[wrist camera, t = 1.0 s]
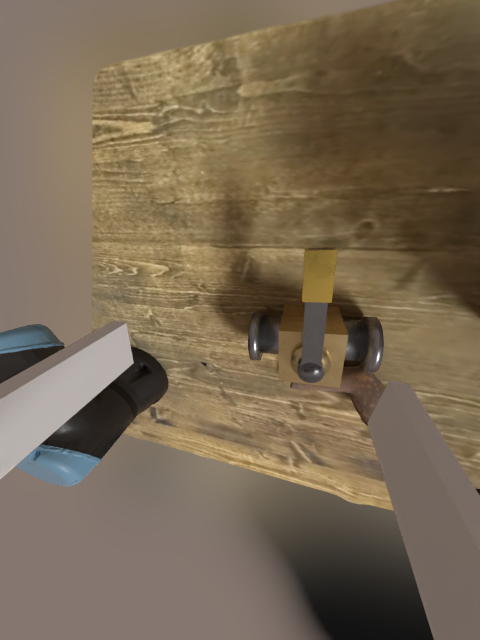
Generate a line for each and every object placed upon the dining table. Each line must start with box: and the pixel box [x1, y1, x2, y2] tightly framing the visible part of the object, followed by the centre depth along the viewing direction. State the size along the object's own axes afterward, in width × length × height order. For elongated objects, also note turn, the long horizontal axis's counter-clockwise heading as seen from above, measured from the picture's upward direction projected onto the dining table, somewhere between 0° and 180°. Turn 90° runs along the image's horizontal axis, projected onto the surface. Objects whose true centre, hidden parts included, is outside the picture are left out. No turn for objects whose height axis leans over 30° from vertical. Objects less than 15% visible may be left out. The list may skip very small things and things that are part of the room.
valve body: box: [248, 305, 384, 388], centre depth 31 cm, size 17×8×10 cm, turn 95°
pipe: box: [290, 366, 385, 426], centre depth 37 cm, size 6×17×10 cm
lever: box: [297, 247, 338, 383], centre depth 23 cm, size 16×3×2 cm, turn 5°
